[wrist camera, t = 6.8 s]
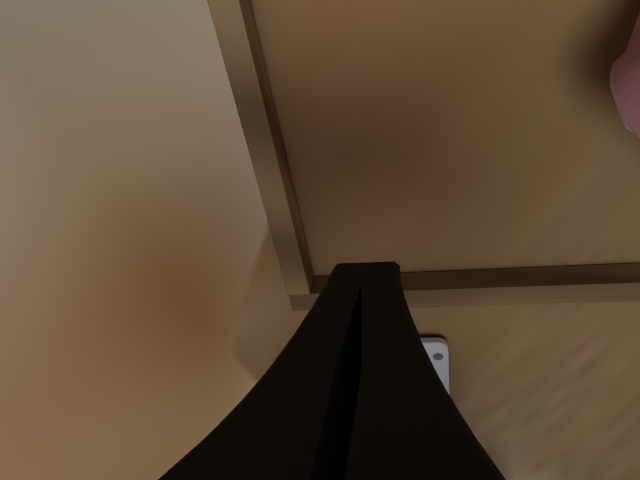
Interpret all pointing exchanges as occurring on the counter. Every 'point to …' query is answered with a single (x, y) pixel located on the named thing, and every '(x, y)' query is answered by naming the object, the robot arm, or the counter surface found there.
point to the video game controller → (628, 83)
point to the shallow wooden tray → (418, 287)
